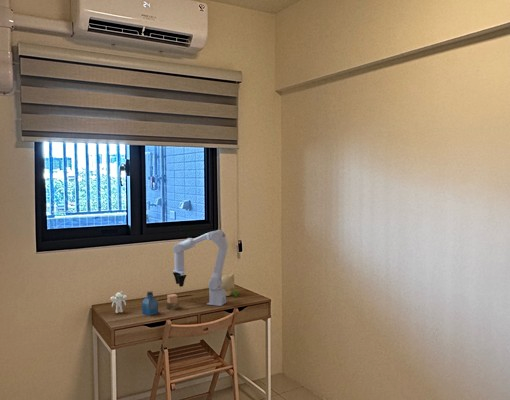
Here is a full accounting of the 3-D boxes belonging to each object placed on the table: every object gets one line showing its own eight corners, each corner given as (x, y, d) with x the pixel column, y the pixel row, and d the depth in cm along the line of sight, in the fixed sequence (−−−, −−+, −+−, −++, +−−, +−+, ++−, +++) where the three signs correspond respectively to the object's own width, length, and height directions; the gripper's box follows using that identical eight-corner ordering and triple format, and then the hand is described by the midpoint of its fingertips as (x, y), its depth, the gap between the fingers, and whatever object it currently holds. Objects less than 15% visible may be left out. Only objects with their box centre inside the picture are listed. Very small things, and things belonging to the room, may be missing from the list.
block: (174, 300, 276) (174, 293, 275) (177, 302, 272) (177, 295, 271) (167, 301, 273) (167, 294, 273) (169, 303, 269) (169, 296, 269)
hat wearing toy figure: (126, 310, 269) (125, 289, 269) (127, 311, 266) (127, 290, 265) (110, 312, 265) (109, 291, 265) (111, 314, 262) (111, 292, 261)
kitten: (239, 294, 304) (239, 271, 303) (237, 298, 294) (236, 274, 293) (217, 293, 306) (217, 270, 305) (213, 297, 296) (213, 273, 295)
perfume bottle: (151, 311, 267) (150, 290, 267) (158, 313, 263) (157, 291, 263) (142, 313, 262) (141, 292, 262) (149, 315, 259) (148, 294, 258)
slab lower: (178, 308, 274) (178, 304, 274) (174, 310, 269) (174, 307, 269) (171, 307, 276) (171, 304, 276) (166, 309, 271) (166, 306, 271)
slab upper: (178, 304, 274) (178, 301, 274) (174, 307, 269) (174, 303, 269) (170, 304, 276) (170, 300, 276) (166, 306, 271) (166, 302, 271)
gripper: (169, 261, 289) (170, 283, 290) (175, 265, 276) (176, 288, 277) (181, 260, 292) (181, 282, 293) (187, 264, 279) (187, 287, 280)
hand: (179, 285), depth 285 cm, fingers open, 7 cm apart
